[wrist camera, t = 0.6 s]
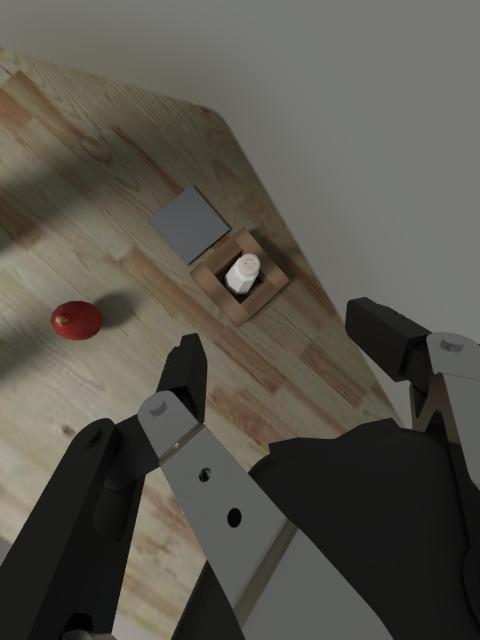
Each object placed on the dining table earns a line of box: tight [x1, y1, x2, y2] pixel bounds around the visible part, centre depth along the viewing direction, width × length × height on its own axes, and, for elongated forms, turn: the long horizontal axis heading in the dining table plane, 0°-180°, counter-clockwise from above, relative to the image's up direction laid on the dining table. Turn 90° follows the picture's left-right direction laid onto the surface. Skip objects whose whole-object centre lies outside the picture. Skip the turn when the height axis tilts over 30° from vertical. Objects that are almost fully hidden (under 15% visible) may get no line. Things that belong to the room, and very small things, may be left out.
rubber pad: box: [148, 185, 230, 265], centre depth 36 cm, size 10×10×1 cm
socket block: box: [189, 227, 290, 327], centre depth 35 cm, size 12×12×4 cm
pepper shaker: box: [224, 253, 260, 295], centre depth 31 cm, size 5×5×11 cm
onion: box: [50, 301, 102, 340], centre depth 29 cm, size 6×6×8 cm
